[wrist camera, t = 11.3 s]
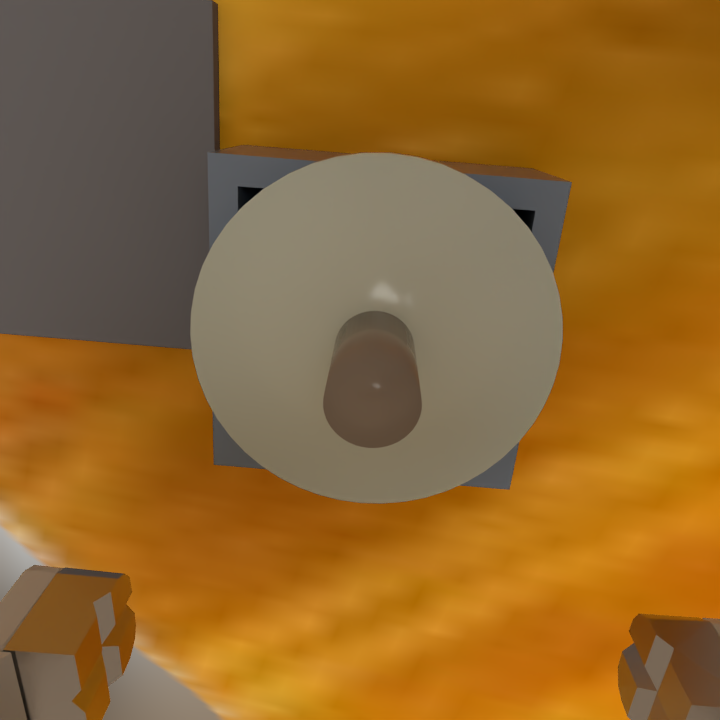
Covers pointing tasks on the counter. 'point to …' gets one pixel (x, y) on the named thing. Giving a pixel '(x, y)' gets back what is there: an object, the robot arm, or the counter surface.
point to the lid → (376, 328)
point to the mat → (105, 166)
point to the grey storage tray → (268, 164)
